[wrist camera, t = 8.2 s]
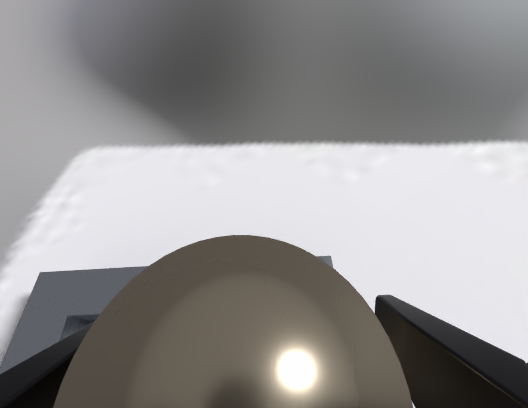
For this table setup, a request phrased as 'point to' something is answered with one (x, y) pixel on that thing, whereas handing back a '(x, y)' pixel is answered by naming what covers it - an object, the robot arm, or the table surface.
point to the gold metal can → (236, 336)
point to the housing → (67, 307)
